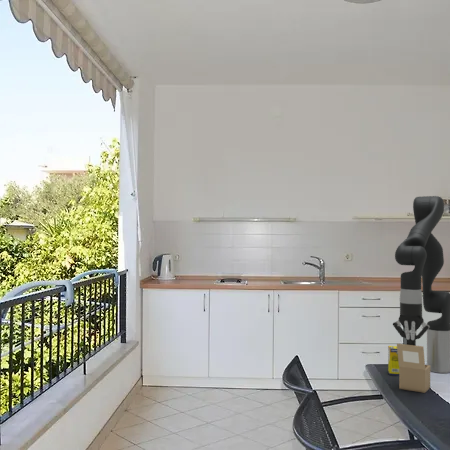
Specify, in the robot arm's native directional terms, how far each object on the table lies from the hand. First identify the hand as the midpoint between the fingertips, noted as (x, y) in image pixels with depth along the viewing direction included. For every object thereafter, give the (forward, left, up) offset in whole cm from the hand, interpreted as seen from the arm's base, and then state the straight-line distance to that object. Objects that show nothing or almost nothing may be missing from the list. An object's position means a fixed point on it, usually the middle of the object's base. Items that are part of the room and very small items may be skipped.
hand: (411, 349), depth 187 cm
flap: (0, 0, -2) cm, 2 cm away
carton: (-6, 0, -15) cm, 16 cm away
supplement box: (-23, -11, -15) cm, 30 cm away
